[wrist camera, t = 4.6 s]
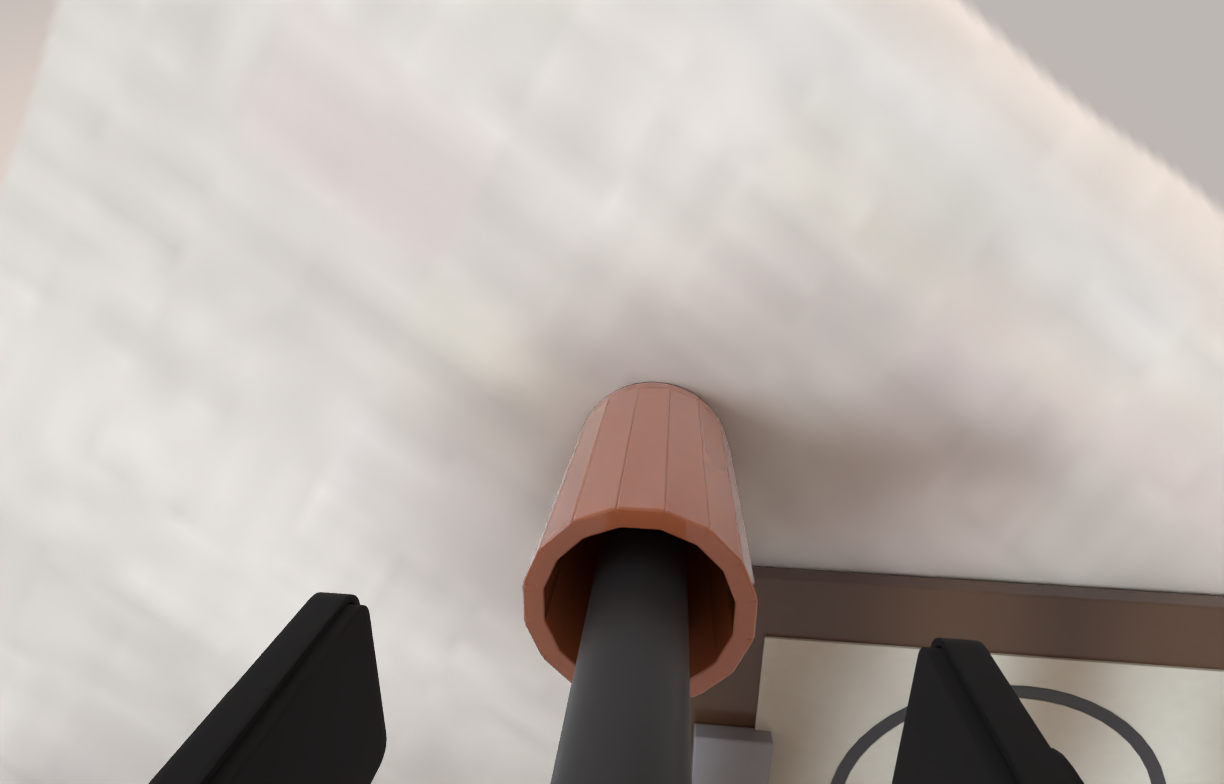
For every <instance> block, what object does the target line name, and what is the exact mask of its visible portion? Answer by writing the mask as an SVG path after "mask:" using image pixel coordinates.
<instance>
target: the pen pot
mask: <svg viewBox="0 0 1224 784" xmlns="http://www.w3.org/2000/svg"><path fill="white" fill-rule="evenodd" d="M620 527H624V528H641V529H657V530H662V531H664V532H667V533H669V534H671V535H674V536H676V537H678V538H681V539H683V540H685V541H687V580H688V626H689V672H690V697H695V696H697V695H698V694H699V695H700V694H702V693H703V692H705V691H706V690H708V689H709V688H711V687H712V686H714V685H715V684H717V683H718V682H720V681H721V680H723V679H724V678H726V677H727V676H729V675H730V674H731V673H732V672H733V671H734V670H735V669H736V667H737V666H738V664H739V662H740V661H741V659H742V658H743V656H744V655H745V653H746V651H747V650H748V648H749V647H750V645H751V643H752V642H753V639H754V637H755V628H756V618H757V608H758V599H757V592H756V587H755V581H754V576H753V571H752V565H751V560H750V555H749V549H748V544H747V538H746V533H745V528H744V522H743V517H742V512H741V506H740V501H739V495H738V490H737V485H736V479H735V474H734V469H733V463H732V458H731V453H730V448H729V445H728V443H727V438H726V435H725V431H724V428H723V426H722V424H721V422H720V420H719V419H718V417H717V415H716V414H715V413H714V411H713V410H712V409H711V408H710V407H709V406H708V405H707V404H706V403H705V402H704V401H703V400H702V399H700V398H699V397H697V396H696V395H695V394H693V393H691V392H689V391H687V390H685V389H683V388H680V387H677V386H674V385H670V384H666V383H657V382H648V383H639V384H633V385H630V386H626V387H624V388H621V389H619V390H617V391H615V392H613V393H611V394H610V395H608V396H607V397H605V398H604V399H603V400H602V401H600V402H599V404H598V405H597V406H596V407H595V408H594V409H593V410H592V412H591V413H590V414H589V416H588V418H587V420H586V421H585V423H584V426H583V428H582V431H581V433H580V435H579V438H578V440H577V442H576V445H575V448H574V450H573V453H572V455H571V458H570V461H569V463H568V466H567V469H566V471H565V474H564V476H563V479H562V482H561V484H560V487H559V490H558V492H557V495H556V497H555V500H554V503H553V505H552V508H551V511H550V513H549V516H548V518H547V521H546V524H545V526H544V529H543V532H542V534H541V537H540V539H539V542H538V545H537V547H536V550H535V553H534V555H533V558H532V560H531V563H530V566H529V568H528V571H527V574H526V576H525V579H524V584H523V604H524V621H525V624H526V626H527V628H528V630H529V632H530V634H531V636H532V638H533V640H534V642H535V644H536V646H537V648H538V650H539V652H540V654H541V655H542V657H544V659H545V660H546V661H547V662H548V663H549V664H550V665H551V666H553V667H554V668H555V669H556V670H557V671H558V672H559V673H561V674H562V675H563V676H564V677H565V678H566V679H567V680H569V681H570V682H571V683H572V680H573V675H574V670H575V665H576V661H577V656H578V651H579V646H580V642H581V637H582V632H583V627H584V623H585V618H586V613H587V608H588V604H589V599H590V594H591V589H592V585H593V580H594V575H595V570H596V565H597V561H598V556H599V551H600V546H601V542H602V537H603V532H606V531H610V530H613V529H616V528H620Z"/></svg>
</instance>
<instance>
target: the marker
mask: <svg viewBox="0 0 1224 784" xmlns="http://www.w3.org/2000/svg"><path fill="white" fill-rule="evenodd" d="M551 784H692V764H691V718H690V672H689V626H688V580H687V541H685V540H683V539H681V538H678V537H676V536H674V535H671V534H669V533H667V532H664V531H662V530H657V529H641V528H624V527H620V528H616V529H613V530H610V531H606V532H603V537H602V542H601V546H600V551H599V556H598V561H597V565H596V570H595V575H594V580H593V585H592V589H591V594H590V599H589V604H588V608H587V613H586V618H585V623H584V627H583V632H582V637H581V642H580V646H579V651H578V656H577V661H576V665H575V670H574V675H573V680H572V685H571V689H570V694H569V699H568V704H567V708H566V713H565V718H564V723H563V727H562V732H561V737H560V742H559V746H558V751H557V756H556V761H555V765H554V770H553V775H552V780H551Z"/></svg>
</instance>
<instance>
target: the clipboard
mask: <svg viewBox="0 0 1224 784" xmlns="http://www.w3.org/2000/svg"><path fill="white" fill-rule="evenodd" d="M752 571H753V576H754V581H755V587H756V592H757V599H758V608H757V618H756V628H755V637H754V639H753V642H752V643H751V645H750V647H749V648H748V650H747V651H746V653H745V655H744V656H743V658H742V659H741V661H740V662H739V664H738V666H737V667H736V669H735V670H734V671H733V672H732V673H731V674H730V675H729V676H727V677H726V678H724V679H723V680H721V681H720V682H718V683H717V684H715V685H714V686H712V687H711V688H709V689H708V690H706V691H705V692H703V693H702V694H700V695H699V694H698V695H697V696H695V697H690V718H691V764H692V784H892V780H893V775H894V770H895V765H896V760H897V755H898V750H899V745H900V740H901V735H902V731H903V726H904V721H905V716H906V711H907V706H908V701H909V696H910V691H911V686H912V681H913V677H914V672H915V667H916V662H917V657H918V653H919V650H920V649H921V648H922V647H931V644H932V641H933V640H934V639H935V638H938V637H940V638H954V639H968V640H978V641H980V642H982V643H983V644H984V646H985V647H986V648H987V650H988V651H989V653H990V654H991V656H992V657H993V659H994V660H995V662H996V664H997V665H998V667H999V668H1000V670H1001V671H1002V673H1003V674H1004V676H1005V677H1006V679H1007V681H1008V682H1009V684H1010V685H1011V687H1012V688H1013V690H1014V691H1015V693H1016V695H1017V696H1018V698H1019V699H1020V701H1021V702H1022V704H1023V705H1024V707H1025V708H1026V710H1027V712H1028V713H1029V715H1030V716H1031V718H1032V719H1033V721H1034V722H1035V724H1036V725H1037V727H1038V729H1039V730H1040V732H1041V733H1042V735H1043V736H1044V738H1045V739H1046V741H1047V743H1048V744H1049V746H1050V747H1051V748H1054V749H1056V750H1057V751H1059V752H1060V753H1062V754H1063V755H1064V756H1065V757H1066V759H1067V760H1068V761H1069V762H1070V763H1071V765H1072V766H1073V767H1074V769H1075V770H1076V772H1077V773H1078V775H1079V776H1080V778H1081V779H1082V781H1083V782H1084V784H1224V597H1223V596H1208V595H1192V594H1177V593H1161V592H1145V591H1130V590H1114V589H1098V588H1083V587H1067V586H1052V585H1036V584H1020V583H1005V582H989V581H974V580H958V579H942V578H927V577H911V576H895V575H880V574H864V573H849V572H833V571H817V570H802V569H786V568H770V567H755V566H752Z"/></svg>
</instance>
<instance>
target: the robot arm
mask: <svg viewBox="0 0 1224 784" xmlns="http://www.w3.org/2000/svg"><path fill="white" fill-rule="evenodd" d="M385 748H386V729H385V722H384V715H383V707H382V700H381V693H380V686H379V679H378V671H377V664H376V657H375V650H374V643H373V636H372V628H371V621H370V614H369V610H368V608H367V606H364V605H360V603H359V599H358V598H357V597H356V596H355V595H351V594H337V593H323V592H319V593H316V594H315V595H313V596H312V597H311V598H310V599H309V600H308V601H307V603H306V604H305V605H304V606H303V607H302V608H301V610H300V611H299V612H298V613H297V614H296V615H295V616H294V618H293V619H292V620H291V621H290V622H289V623H288V625H287V626H286V627H285V628H284V629H283V630H282V631H281V633H280V634H279V635H278V636H277V637H276V638H275V639H274V641H273V642H272V643H271V644H270V645H269V646H268V648H267V649H266V650H265V651H264V652H263V653H262V654H261V656H260V657H259V658H258V659H257V660H256V661H255V663H254V664H253V665H252V666H251V667H250V668H249V669H248V671H247V672H246V673H245V674H244V675H243V676H242V677H241V679H240V680H239V681H238V682H237V683H236V684H235V686H234V687H233V688H232V689H231V690H230V691H229V692H228V693H227V694H226V695H225V696H224V697H223V699H222V700H221V701H220V702H219V703H218V704H217V705H216V707H215V708H214V709H213V710H212V711H211V712H210V714H209V715H208V716H207V717H206V718H205V719H204V720H203V722H202V723H201V724H200V725H199V726H198V727H197V728H196V730H195V731H194V732H193V733H192V734H191V735H190V737H189V738H188V739H187V740H186V741H185V742H184V743H183V745H182V746H181V747H180V748H179V749H178V750H177V751H176V753H175V754H174V755H173V756H172V757H171V758H170V760H169V761H168V762H167V763H166V764H165V765H164V766H163V768H162V769H161V770H160V771H159V772H158V773H157V774H156V776H155V777H154V778H153V779H152V780H151V781H150V783H149V784H371V782H372V780H373V778H374V776H375V774H376V772H377V770H378V768H379V766H380V764H381V762H382V759H383V756H384V753H385ZM892 784H1084V782H1083V781H1082V779H1081V778H1080V776H1079V775H1078V773H1077V772H1076V770H1075V769H1074V767H1073V766H1072V765H1071V763H1070V762H1069V761H1068V760H1067V759H1066V757H1065V756H1064V755H1063V754H1062V753H1060V752H1059V751H1057V750H1056V749H1054V748H1051V747H1050V746H1049V744H1048V743H1047V741H1046V739H1045V738H1044V736H1043V735H1042V733H1041V732H1040V730H1039V729H1038V727H1037V725H1036V724H1035V722H1034V721H1033V719H1032V718H1031V716H1030V715H1029V713H1028V712H1027V710H1026V708H1025V707H1024V705H1023V704H1022V702H1021V701H1020V699H1019V698H1018V696H1017V695H1016V693H1015V691H1014V690H1013V688H1012V687H1011V685H1010V684H1009V682H1008V681H1007V679H1006V677H1005V676H1004V674H1003V673H1002V671H1001V670H1000V668H999V667H998V665H997V664H996V662H995V660H994V659H993V657H992V656H991V654H990V653H989V651H988V650H987V648H986V647H985V646H984V644H983V643H982V642H980V641H978V640H968V639H954V638H940V637H938V638H935V639H934V640H933V641H932V644H931V647H922V648H921V649H920V650H919V653H918V657H917V662H916V667H915V672H914V677H913V681H912V686H911V691H910V696H909V701H908V706H907V711H906V716H905V721H904V726H903V731H902V735H901V740H900V745H899V750H898V755H897V760H896V765H895V770H894V775H893V780H892Z"/></svg>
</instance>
